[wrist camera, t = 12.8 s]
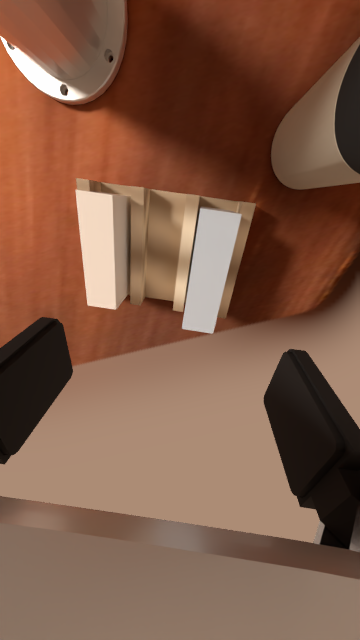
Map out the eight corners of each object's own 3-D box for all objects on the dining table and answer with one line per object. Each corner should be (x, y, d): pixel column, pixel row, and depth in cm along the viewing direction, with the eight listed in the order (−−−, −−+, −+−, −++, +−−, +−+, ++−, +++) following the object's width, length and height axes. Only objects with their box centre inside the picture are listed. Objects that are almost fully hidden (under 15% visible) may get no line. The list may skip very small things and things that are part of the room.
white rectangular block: (201, 206, 25) (200, 208, 18) (229, 210, 25) (241, 214, 18) (187, 297, 31) (181, 328, 24) (210, 300, 31) (212, 333, 24)
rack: (90, 180, 26) (73, 177, 23) (251, 203, 26) (258, 203, 22) (98, 286, 33) (86, 297, 30) (225, 306, 33) (227, 318, 29)
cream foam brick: (105, 192, 26) (75, 189, 20) (133, 196, 26) (112, 194, 20) (109, 285, 32) (87, 305, 26) (132, 288, 32) (116, 309, 26)
